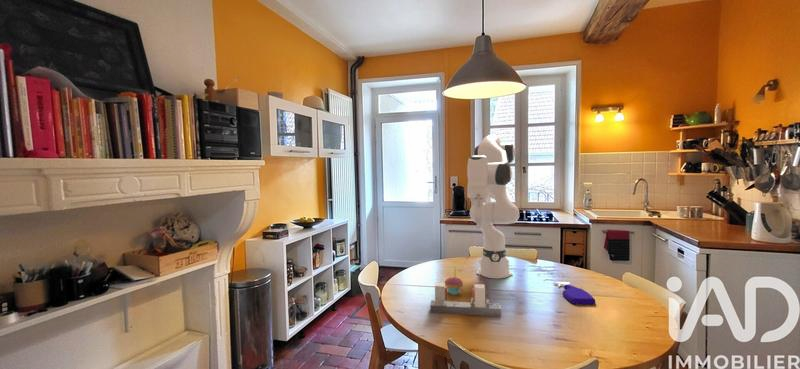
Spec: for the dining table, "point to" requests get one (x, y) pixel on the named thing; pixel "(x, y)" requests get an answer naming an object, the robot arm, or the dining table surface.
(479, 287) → the finger block
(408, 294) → the dining table surface
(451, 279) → the cupcake
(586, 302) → the purple flat bottle
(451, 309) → the rail
